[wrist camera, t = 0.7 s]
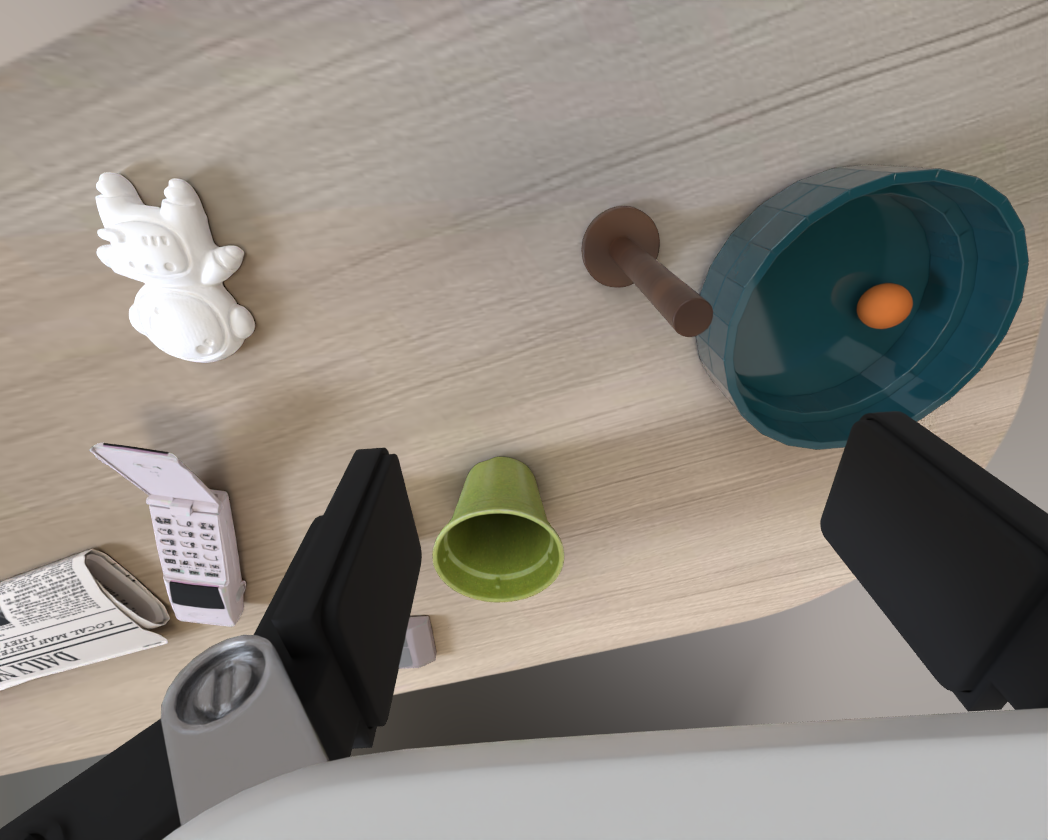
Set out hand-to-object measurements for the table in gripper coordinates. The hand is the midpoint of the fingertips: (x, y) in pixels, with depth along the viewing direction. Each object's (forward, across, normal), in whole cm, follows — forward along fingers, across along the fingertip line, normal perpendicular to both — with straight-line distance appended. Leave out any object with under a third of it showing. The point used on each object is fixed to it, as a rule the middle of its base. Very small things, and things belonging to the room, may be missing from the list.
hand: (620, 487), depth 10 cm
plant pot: (+25, +5, +19) cm, 32 cm away
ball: (+23, -22, +5) cm, 32 cm away
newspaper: (+25, +58, +34) cm, 71 cm away
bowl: (+25, -19, +5) cm, 32 cm away
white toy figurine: (+25, +24, 0) cm, 35 cm away
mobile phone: (+25, +32, +22) cm, 46 cm away
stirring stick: (+25, -5, 0) cm, 25 cm away
